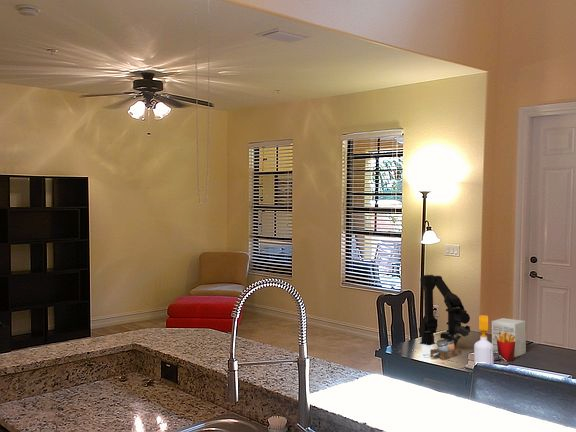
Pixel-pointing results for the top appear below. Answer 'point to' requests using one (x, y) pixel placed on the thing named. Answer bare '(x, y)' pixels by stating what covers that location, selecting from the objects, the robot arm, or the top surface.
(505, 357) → the french fries
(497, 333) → the supplement box
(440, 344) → the slate jar
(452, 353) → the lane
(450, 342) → the terracotta jar
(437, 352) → the pusher
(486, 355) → the soap bottle
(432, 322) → the robot arm
